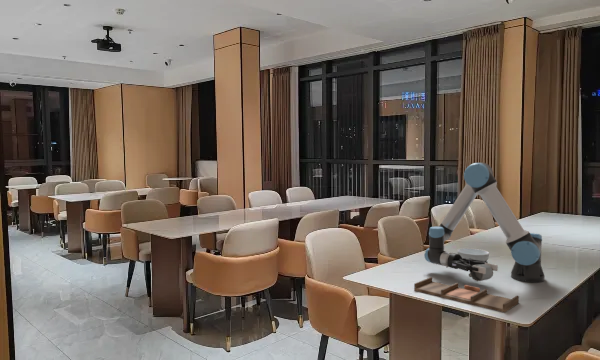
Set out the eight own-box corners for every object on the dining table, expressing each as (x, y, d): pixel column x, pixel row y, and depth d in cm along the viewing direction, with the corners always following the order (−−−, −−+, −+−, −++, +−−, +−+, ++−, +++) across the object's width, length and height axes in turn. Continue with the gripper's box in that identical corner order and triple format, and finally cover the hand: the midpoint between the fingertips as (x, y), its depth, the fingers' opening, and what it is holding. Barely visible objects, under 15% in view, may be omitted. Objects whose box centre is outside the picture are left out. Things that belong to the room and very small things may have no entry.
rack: (519, 303, 190) (519, 295, 190) (504, 312, 179) (505, 304, 179) (431, 283, 219) (431, 276, 219) (414, 290, 208) (414, 283, 208)
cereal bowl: (467, 267, 248) (468, 255, 247) (451, 260, 264) (451, 248, 264) (495, 266, 251) (495, 253, 251) (477, 259, 267) (477, 247, 267)
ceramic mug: (494, 280, 213) (494, 264, 212) (483, 283, 209) (483, 266, 208) (475, 275, 222) (475, 260, 222) (464, 278, 218) (464, 262, 217)
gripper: (465, 264, 234) (504, 274, 215) (437, 270, 223) (476, 281, 204) (465, 250, 234) (505, 258, 215) (437, 255, 223) (476, 264, 204)
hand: (491, 269), depth 209 cm, fingers closed on ceramic mug, 8 cm apart
